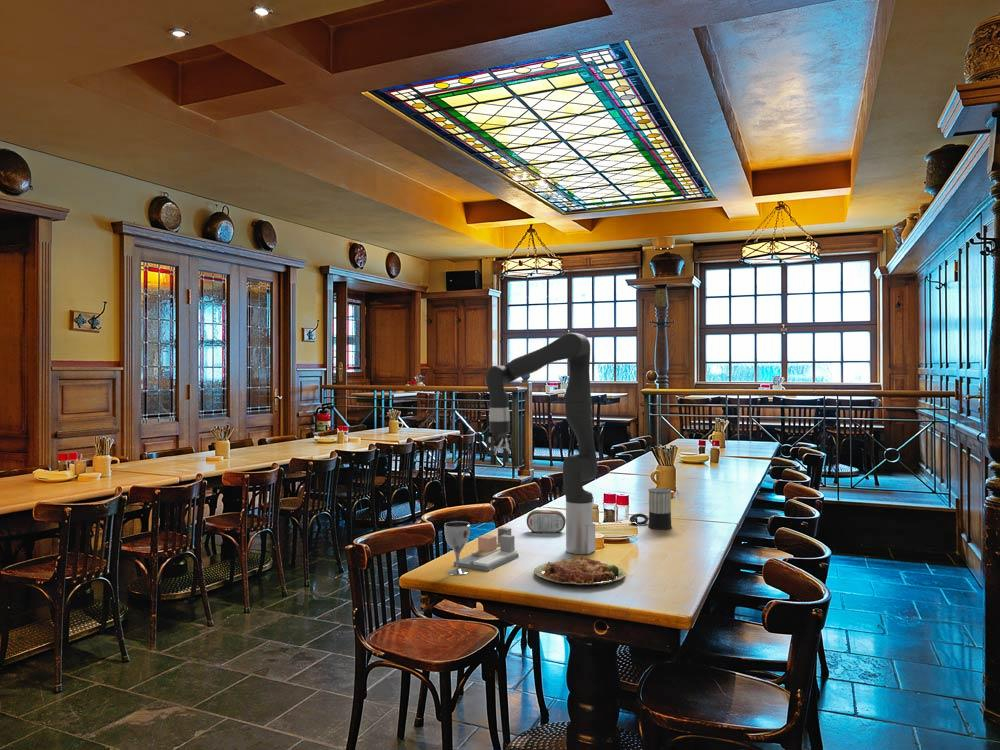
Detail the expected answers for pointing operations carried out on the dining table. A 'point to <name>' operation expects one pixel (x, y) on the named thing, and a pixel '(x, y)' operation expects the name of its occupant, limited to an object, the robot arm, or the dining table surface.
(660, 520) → the milk frother
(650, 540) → the dining table surface
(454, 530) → the wine glass
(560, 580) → the rice dish
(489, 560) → the grey strip
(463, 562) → the lane board
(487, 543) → the terracotta block
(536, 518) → the tin
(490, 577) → the dining table surface
